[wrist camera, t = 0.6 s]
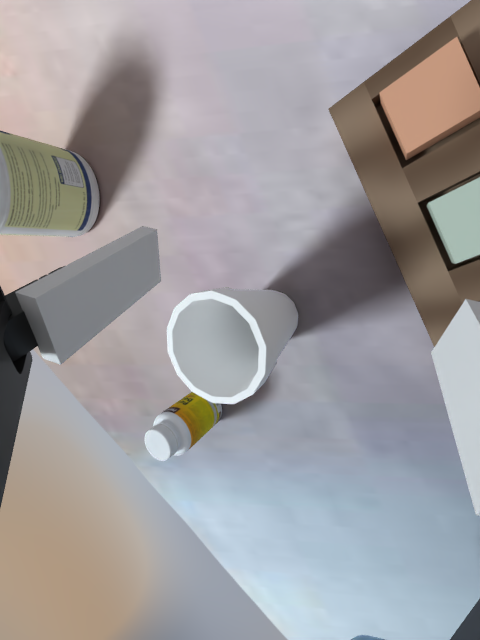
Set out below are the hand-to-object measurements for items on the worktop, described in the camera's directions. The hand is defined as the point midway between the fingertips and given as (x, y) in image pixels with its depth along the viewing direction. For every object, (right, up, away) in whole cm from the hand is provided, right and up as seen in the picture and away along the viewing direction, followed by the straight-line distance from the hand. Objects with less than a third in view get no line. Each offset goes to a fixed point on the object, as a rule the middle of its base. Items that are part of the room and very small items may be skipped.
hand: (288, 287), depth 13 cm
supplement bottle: (-7, -14, +30) cm, 33 cm away
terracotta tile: (+12, +15, +10) cm, 21 cm away
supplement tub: (-27, +18, +33) cm, 47 cm away
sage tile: (+16, +6, +10) cm, 20 cm away
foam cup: (+2, -1, +22) cm, 22 cm away
